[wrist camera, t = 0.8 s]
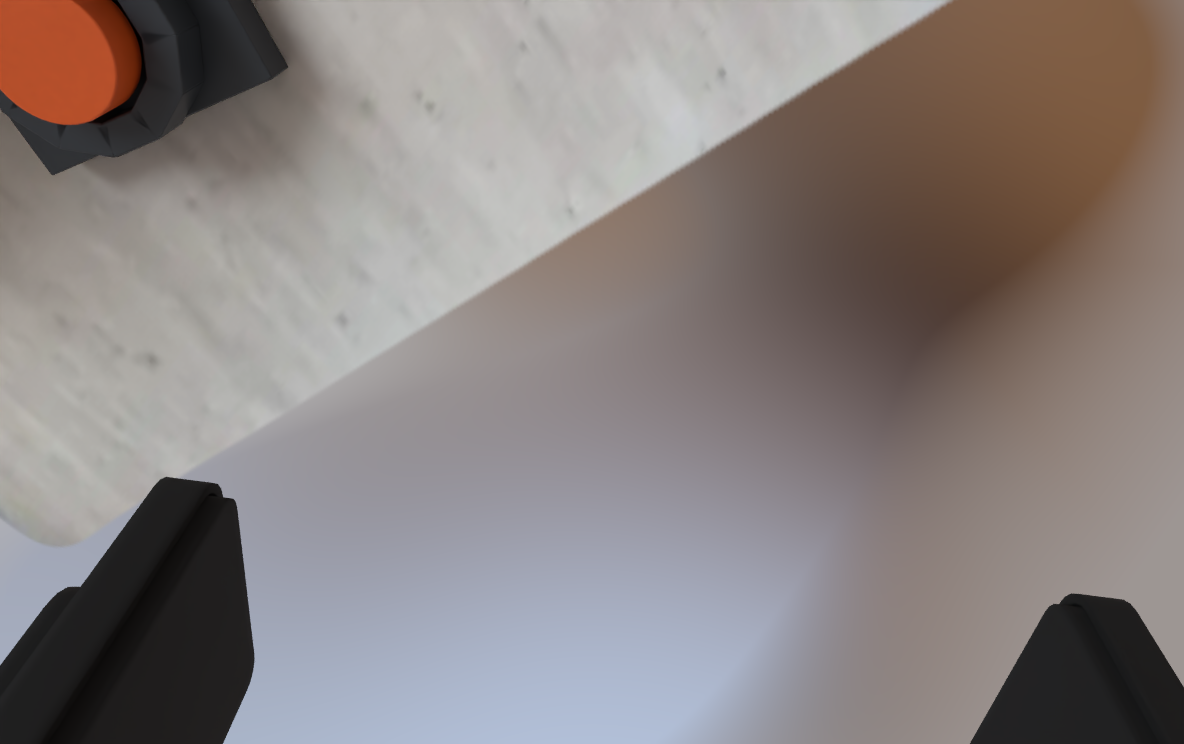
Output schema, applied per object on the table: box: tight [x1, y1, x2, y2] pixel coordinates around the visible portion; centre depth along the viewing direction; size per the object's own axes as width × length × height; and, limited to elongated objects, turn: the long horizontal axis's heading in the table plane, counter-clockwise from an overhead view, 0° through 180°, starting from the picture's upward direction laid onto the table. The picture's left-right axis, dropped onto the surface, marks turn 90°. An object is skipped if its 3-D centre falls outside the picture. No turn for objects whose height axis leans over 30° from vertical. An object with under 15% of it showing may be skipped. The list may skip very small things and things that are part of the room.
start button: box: [0, 0, 142, 125], centre depth 29 cm, size 4×4×2 cm
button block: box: [0, 0, 288, 175], centre depth 31 cm, size 10×7×4 cm
